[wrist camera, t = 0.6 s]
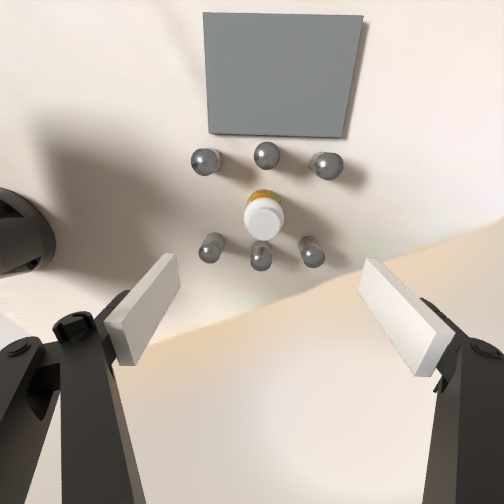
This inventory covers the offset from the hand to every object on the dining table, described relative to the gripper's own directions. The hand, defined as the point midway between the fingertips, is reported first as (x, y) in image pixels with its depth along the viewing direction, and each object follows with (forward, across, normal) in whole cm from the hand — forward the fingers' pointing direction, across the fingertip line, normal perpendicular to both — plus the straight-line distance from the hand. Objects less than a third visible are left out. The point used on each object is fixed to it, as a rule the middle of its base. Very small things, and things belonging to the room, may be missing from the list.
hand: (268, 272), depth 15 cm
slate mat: (+21, +1, +15) cm, 26 cm away
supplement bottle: (+22, 0, -1) cm, 22 cm away
